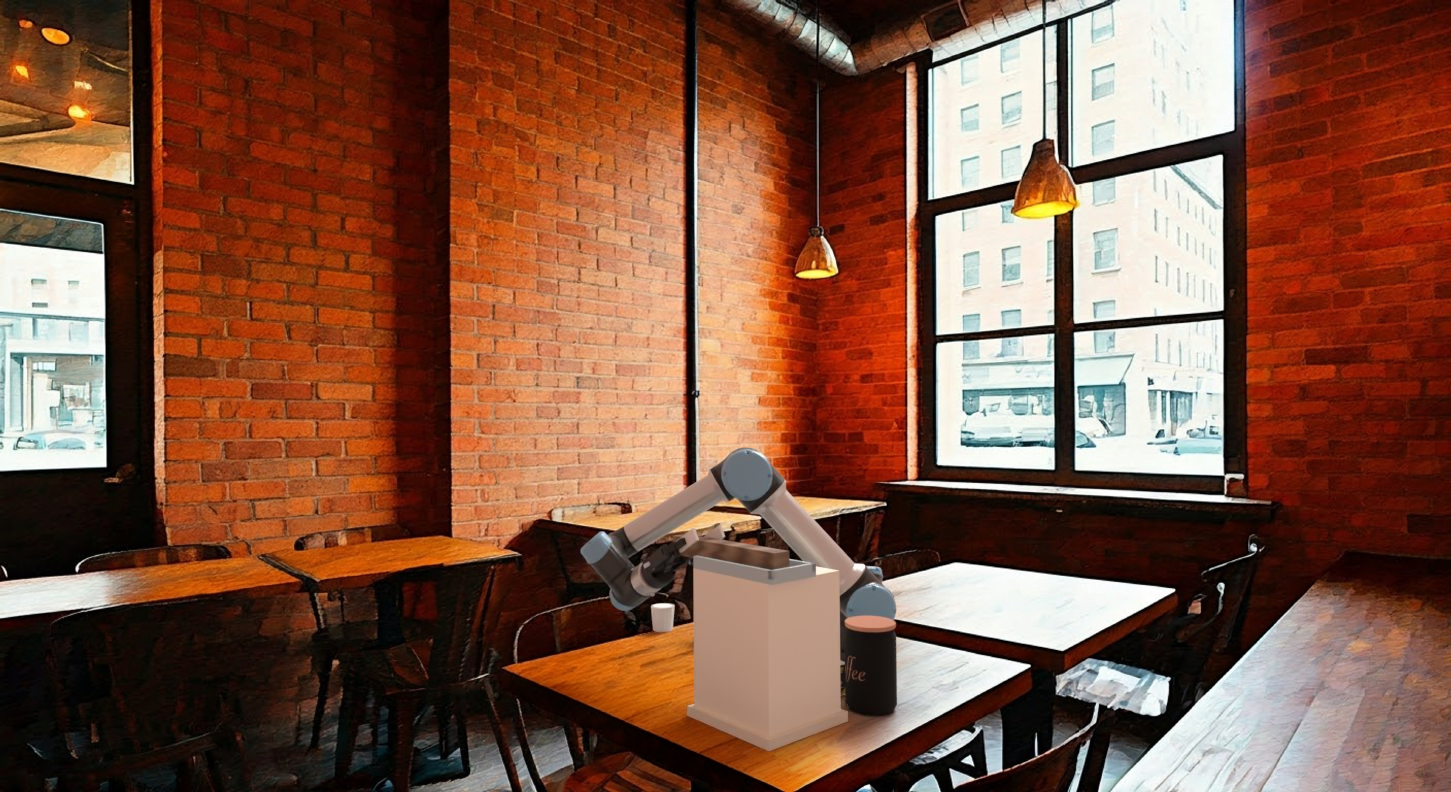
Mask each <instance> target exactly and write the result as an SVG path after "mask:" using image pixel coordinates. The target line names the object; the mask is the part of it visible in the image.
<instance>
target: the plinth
mask: <svg viewBox="0 0 1451 792" xmlns="http://www.w3.org/2000/svg"><path fill="white" fill-rule="evenodd" d="M692 569H693V571H692V572H693V577H692V578H693V703H692V704H689V705H687V707H686V713H687V714H686V717H689V718H692V719H694V720H696V721H698V722H701V723H704V724H706V725H707V726H710V727H712V728H714V729H717V730H719V731H721V732H724V733H726V734H728V735H730V736H733V737H735V738H736V739H737V738H738V739H740V740H741V741H744V742H747V743H749V744H751V745H753V746H756V747H757V748H760V749H762V750H764V751H767V752H771V751H774V750H777V749H779V748H781V747H784V746H787V745H789V744H793V743H794V742H795V743H796V742H797V741H800V740H802V739H803V740H804V739H806V738H808V737H812V736H813V735H816V734H819V733H821V732H824V731H826V730H830V729H832V728H834V727H837V726H840V725H841V724H842V725H843V724H844V723H845V724H846V723H847V722H849V711H848V710H846V709H842V707H841V702H842V700H841V697H842V696H841V687H840V585H839V570H833V569H828V568H822V567H817V566H816V577H811V578H806V579H800V580H795V581H790V582H785V583H780V584H775V585H769V584H764V583H760V582H755V581H751V580H746V579H741V578H737V577H732V576H727V575H723V574H718V573H713V572H709V571H704V570H699V569H695V568H692Z"/></svg>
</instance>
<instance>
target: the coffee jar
mask: <svg viewBox="0 0 1451 792" xmlns="http://www.w3.org/2000/svg"><path fill="white" fill-rule="evenodd" d="M845 626H846V627H847V630H846V631H845V695H844V696H845V698H844V700H845V704H846V706H847V707H848V709H849V710H850V711H851V712H853V713H855V714H857V715H861V716H867V717H881V716H887V715H890V714H891V713H893V712H894V710H895V709H896V707H897V704H898V684H897V682H898V680H897V674H898V673H897V671H898V670H897V668H898V667H897V663H898V662H897V634H896V632H895V628H897V627H896V626H897V622H896V621H895V619H894V620H892V619H889V618H886V617H880V616H854V617H850V618H847V619H846V620H845Z"/></svg>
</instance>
